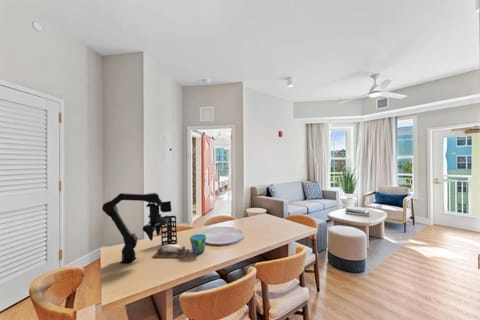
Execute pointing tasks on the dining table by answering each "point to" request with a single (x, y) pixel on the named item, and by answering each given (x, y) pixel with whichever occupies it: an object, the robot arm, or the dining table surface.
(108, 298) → the dining table surface
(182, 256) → the cradle
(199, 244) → the snack cup
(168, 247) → the roll
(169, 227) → the holder
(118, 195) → the robot arm
